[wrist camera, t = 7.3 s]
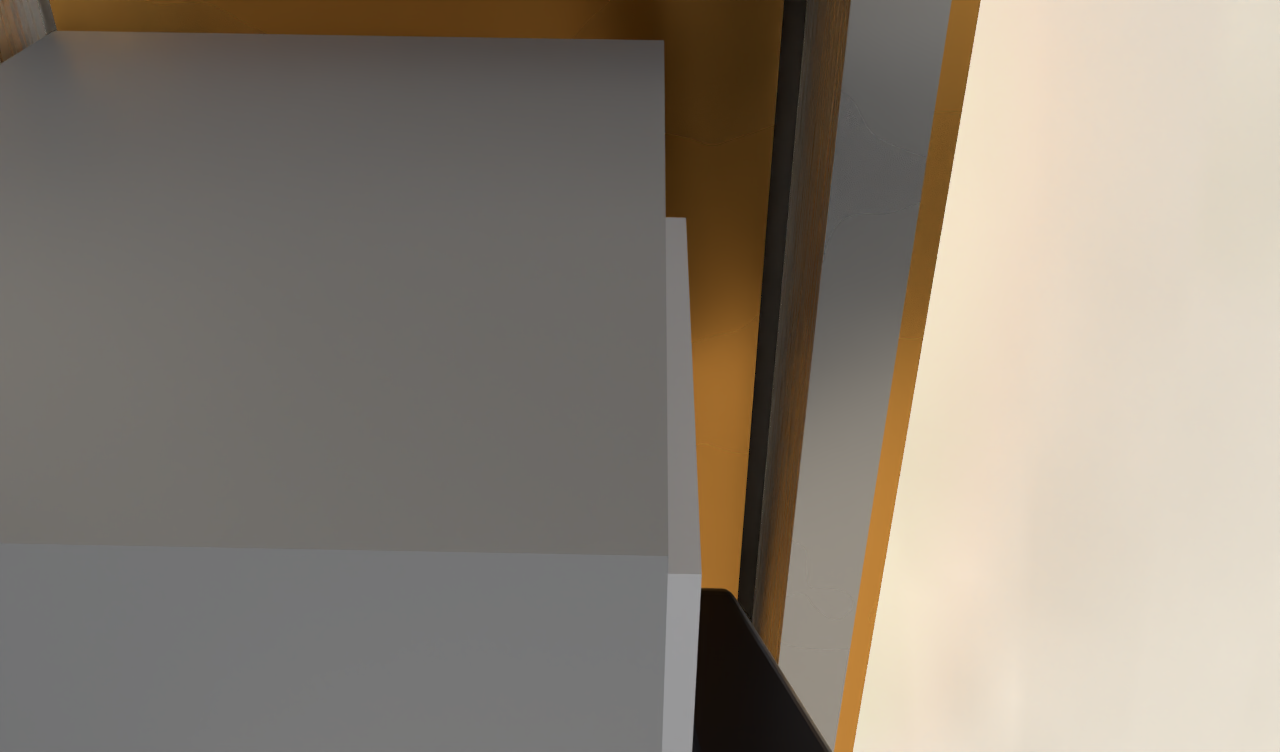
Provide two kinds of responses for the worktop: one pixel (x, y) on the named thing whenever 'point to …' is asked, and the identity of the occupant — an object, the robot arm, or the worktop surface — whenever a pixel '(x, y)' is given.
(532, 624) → the grey rectangular cuboid
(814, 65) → the tray
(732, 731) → the robot arm
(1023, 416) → the worktop surface
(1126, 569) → the worktop surface
